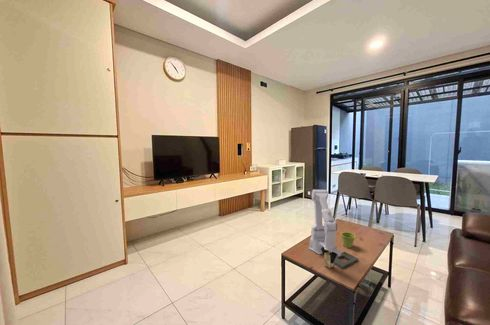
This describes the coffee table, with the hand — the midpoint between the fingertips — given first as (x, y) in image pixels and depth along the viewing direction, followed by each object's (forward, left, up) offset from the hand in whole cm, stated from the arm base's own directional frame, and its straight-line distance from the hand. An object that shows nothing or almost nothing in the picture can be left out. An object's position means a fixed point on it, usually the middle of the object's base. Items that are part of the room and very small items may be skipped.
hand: (329, 261), depth 128 cm
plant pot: (-9, +34, -4) cm, 35 cm away
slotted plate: (+1, +13, -4) cm, 14 cm away
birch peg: (0, 0, -3) cm, 3 cm away
